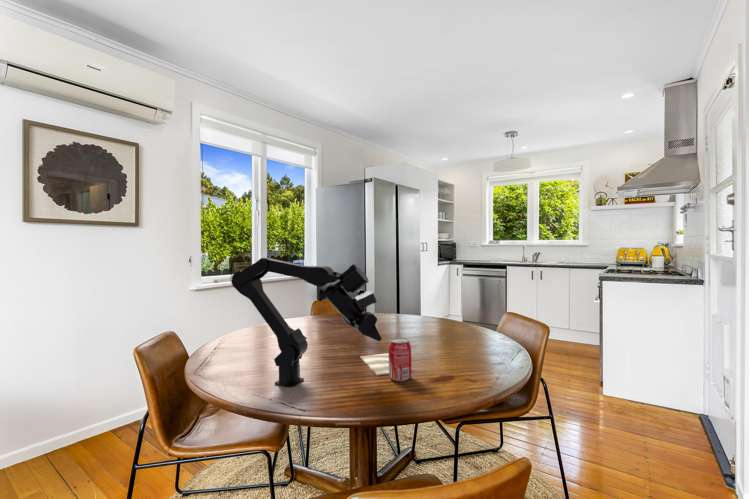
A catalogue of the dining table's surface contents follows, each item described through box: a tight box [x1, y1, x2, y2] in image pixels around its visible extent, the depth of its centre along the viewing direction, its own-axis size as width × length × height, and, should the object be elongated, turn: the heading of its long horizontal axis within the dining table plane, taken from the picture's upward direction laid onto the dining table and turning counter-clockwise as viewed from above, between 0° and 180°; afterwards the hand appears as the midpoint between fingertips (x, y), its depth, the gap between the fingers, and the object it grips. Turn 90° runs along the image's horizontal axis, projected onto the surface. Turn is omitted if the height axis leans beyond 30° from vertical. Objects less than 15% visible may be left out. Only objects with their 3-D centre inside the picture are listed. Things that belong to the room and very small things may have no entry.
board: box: [359, 352, 413, 376], centre depth 131 cm, size 20×12×1 cm, turn 18°
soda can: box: [388, 337, 412, 382], centre depth 117 cm, size 7×7×12 cm
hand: (374, 336), depth 116 cm, fingers open, 9 cm apart
